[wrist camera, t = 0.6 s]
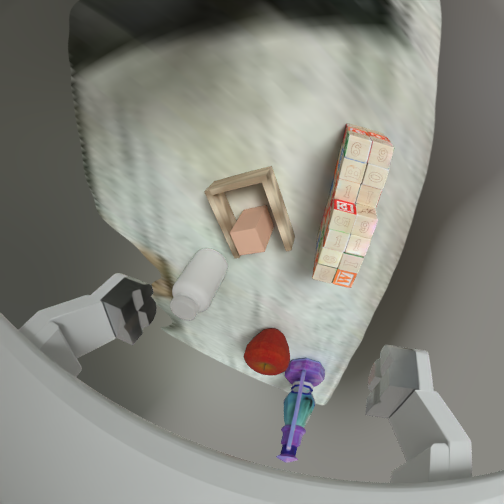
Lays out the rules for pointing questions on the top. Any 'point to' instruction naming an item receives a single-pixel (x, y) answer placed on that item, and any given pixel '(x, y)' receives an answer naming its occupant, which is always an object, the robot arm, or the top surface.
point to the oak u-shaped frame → (242, 180)
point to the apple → (268, 352)
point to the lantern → (299, 403)
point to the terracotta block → (252, 230)
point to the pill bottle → (198, 283)
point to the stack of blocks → (352, 205)
